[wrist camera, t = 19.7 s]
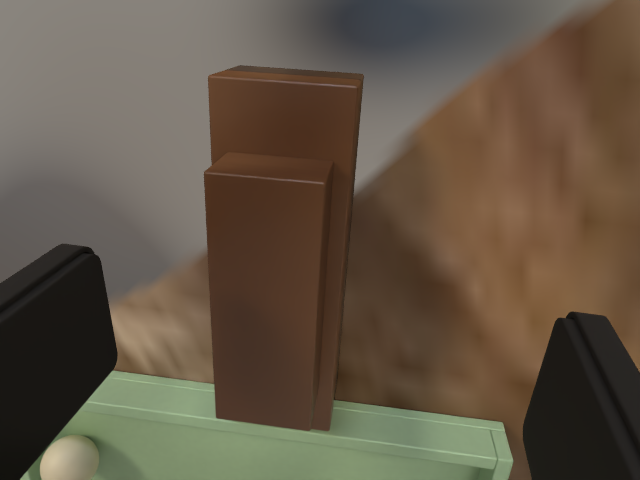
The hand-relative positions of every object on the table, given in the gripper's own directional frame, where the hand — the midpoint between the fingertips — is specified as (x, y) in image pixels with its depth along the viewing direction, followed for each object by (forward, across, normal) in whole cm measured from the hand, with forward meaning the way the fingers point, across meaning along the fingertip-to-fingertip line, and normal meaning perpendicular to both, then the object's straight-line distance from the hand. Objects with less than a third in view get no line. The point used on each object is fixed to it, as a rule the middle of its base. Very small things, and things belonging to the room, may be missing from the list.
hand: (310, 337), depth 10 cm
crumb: (+5, +12, +13) cm, 18 cm away
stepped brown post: (+8, +2, +2) cm, 8 cm away
